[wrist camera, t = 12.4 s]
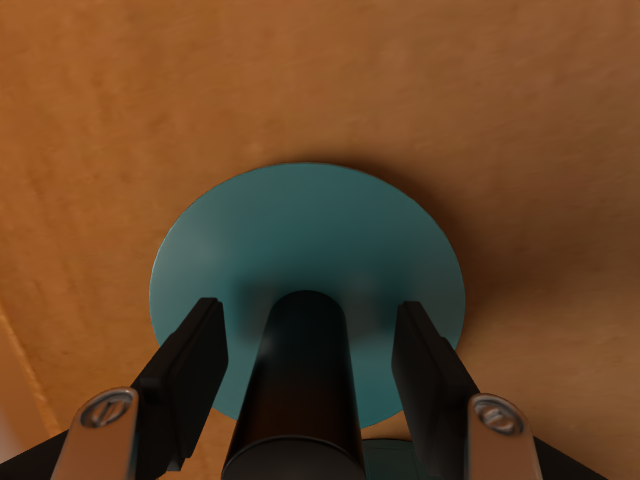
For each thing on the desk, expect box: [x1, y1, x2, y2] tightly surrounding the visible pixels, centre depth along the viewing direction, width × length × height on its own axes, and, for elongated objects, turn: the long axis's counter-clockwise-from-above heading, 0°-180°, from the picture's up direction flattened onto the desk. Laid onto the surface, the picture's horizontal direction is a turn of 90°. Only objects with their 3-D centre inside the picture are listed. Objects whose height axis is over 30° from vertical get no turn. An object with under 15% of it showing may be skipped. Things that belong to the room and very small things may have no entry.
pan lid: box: [149, 162, 465, 480], centre depth 10 cm, size 13×13×7 cm
